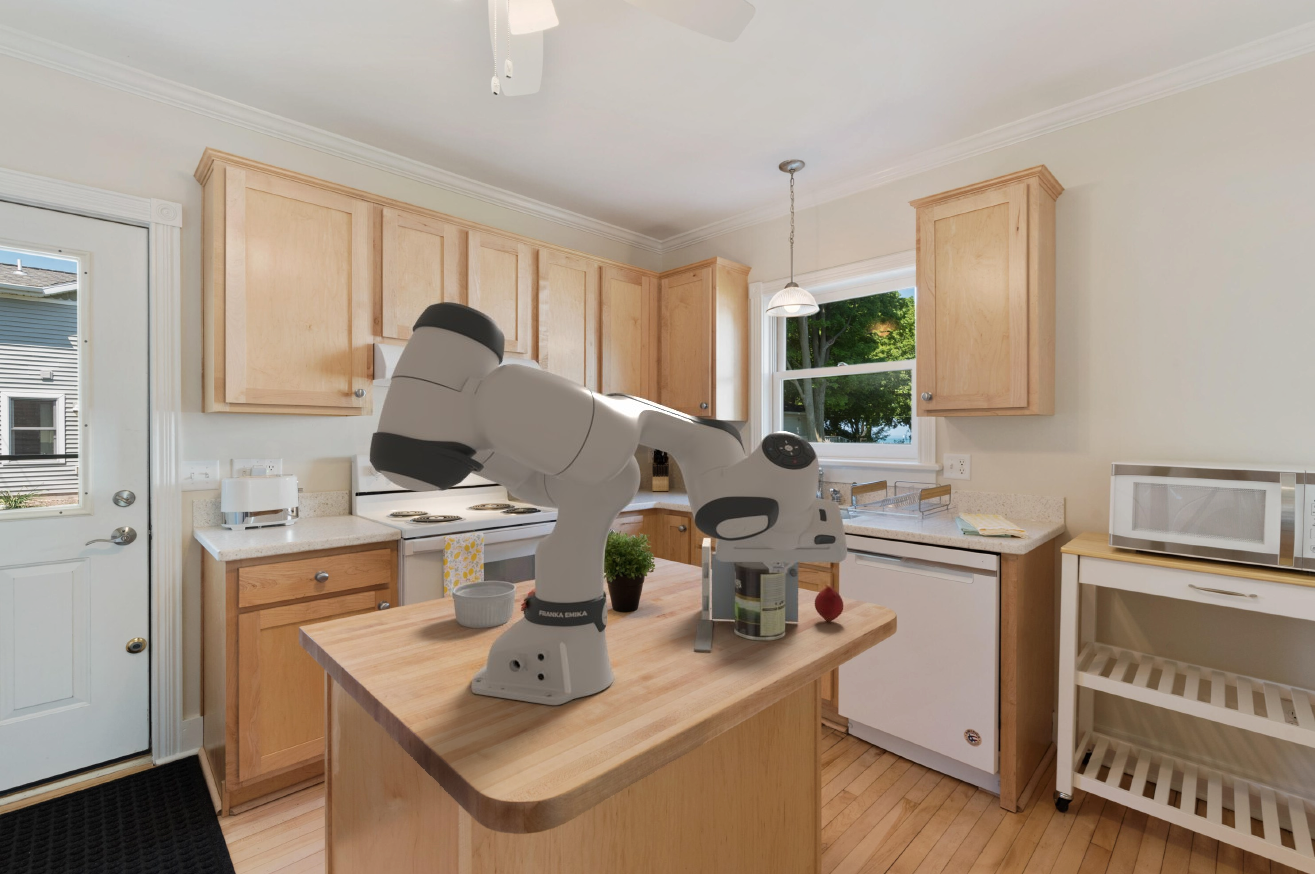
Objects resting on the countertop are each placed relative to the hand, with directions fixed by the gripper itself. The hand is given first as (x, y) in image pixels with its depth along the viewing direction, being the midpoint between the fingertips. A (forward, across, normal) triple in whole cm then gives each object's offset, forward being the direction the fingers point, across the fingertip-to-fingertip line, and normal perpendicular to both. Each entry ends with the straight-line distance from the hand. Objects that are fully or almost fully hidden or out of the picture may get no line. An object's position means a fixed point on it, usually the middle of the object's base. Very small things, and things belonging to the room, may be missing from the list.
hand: (777, 569), depth 102 cm
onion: (+35, +13, +8) cm, 38 cm away
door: (+32, -3, +7) cm, 33 cm away
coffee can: (+28, -2, +3) cm, 29 cm away
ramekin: (+29, -60, +4) cm, 67 cm away
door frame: (+29, -13, +4) cm, 32 cm away
